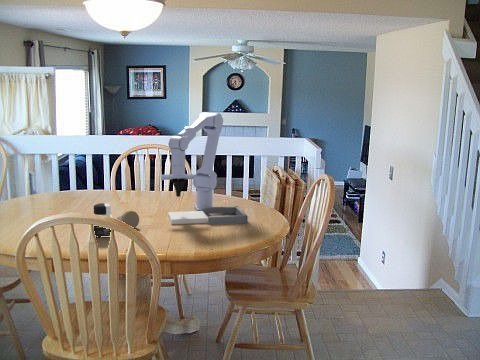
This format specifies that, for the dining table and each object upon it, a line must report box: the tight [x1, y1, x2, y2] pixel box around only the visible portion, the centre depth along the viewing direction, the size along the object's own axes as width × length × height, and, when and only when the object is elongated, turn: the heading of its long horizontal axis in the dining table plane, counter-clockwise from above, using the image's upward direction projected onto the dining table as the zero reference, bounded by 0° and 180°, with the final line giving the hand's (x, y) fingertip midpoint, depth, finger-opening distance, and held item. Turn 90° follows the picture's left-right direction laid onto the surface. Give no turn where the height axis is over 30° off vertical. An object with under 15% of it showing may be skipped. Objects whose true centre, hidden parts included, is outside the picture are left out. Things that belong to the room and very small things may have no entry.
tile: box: [208, 213, 227, 216], centre depth 220 cm, size 6×6×2 cm
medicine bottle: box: [93, 202, 113, 237], centre depth 191 cm, size 7×7×12 cm
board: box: [167, 210, 208, 225], centre depth 216 cm, size 12×15×2 cm
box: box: [201, 205, 249, 225], centre depth 220 cm, size 17×16×3 cm
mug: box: [116, 210, 140, 229], centre depth 203 cm, size 8×10×10 cm
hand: (178, 196), depth 218 cm, fingers closed
